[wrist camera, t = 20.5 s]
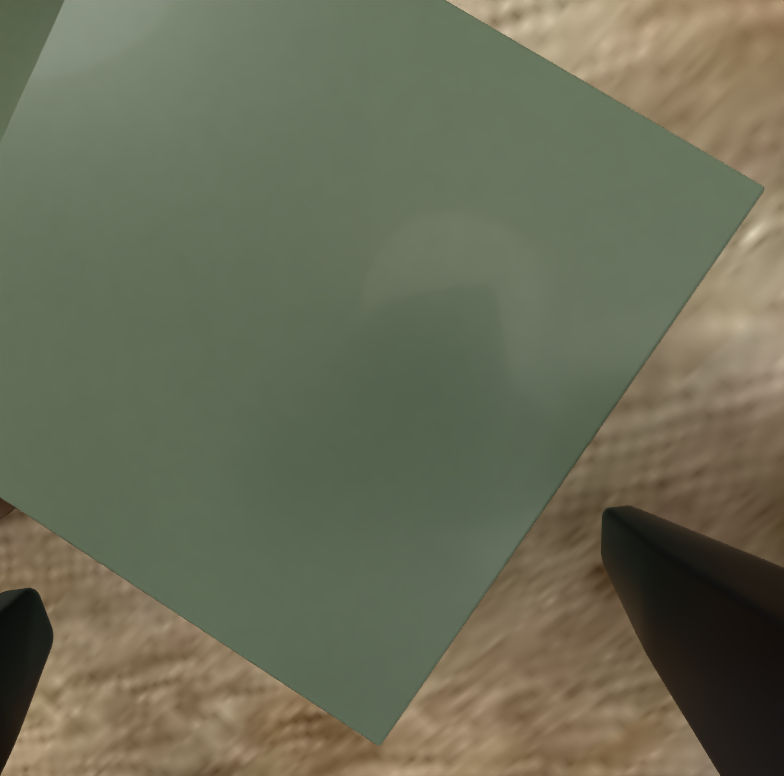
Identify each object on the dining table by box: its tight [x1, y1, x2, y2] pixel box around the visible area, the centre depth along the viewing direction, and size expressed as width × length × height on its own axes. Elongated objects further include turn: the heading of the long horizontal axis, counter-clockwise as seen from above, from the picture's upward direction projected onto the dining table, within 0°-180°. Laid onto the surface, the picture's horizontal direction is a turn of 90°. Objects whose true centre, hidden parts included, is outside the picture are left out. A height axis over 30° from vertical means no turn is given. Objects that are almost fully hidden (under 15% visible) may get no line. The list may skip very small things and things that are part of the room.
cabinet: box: [0, 0, 764, 746], centre depth 16 cm, size 14×14×8 cm
